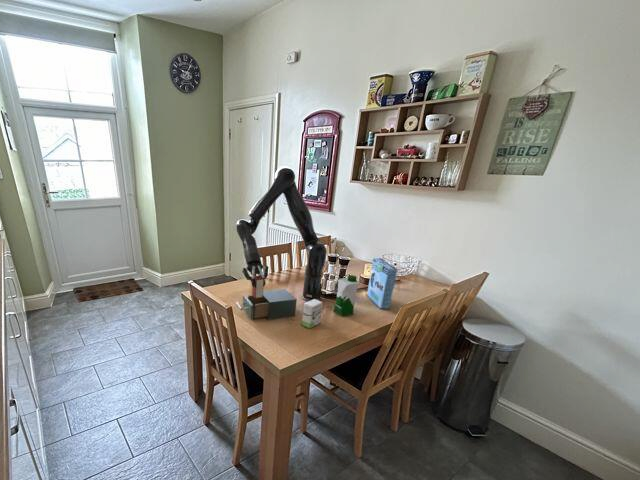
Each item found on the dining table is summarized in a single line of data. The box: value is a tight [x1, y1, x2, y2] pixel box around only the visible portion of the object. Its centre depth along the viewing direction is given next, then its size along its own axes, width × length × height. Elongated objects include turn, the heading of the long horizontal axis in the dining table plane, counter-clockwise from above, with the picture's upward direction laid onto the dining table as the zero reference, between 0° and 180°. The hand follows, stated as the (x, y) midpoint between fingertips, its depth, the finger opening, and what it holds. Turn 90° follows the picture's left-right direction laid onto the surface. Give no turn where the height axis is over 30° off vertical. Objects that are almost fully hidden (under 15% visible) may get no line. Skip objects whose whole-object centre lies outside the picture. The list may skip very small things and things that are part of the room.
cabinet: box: [263, 288, 298, 320], centre depth 171 cm, size 15×14×10 cm
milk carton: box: [333, 274, 360, 317], centre depth 169 cm, size 9×9×20 cm
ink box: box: [301, 299, 323, 329], centre depth 158 cm, size 9×5×12 cm, turn 132°
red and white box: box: [251, 275, 264, 298], centre depth 163 cm, size 4×5×10 cm
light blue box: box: [366, 257, 398, 310], centre depth 182 cm, size 20×5×23 cm, turn 2°
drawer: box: [235, 294, 269, 321], centre depth 167 cm, size 18×13×8 cm
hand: (259, 286), depth 161 cm, fingers closed on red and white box, 4 cm apart
